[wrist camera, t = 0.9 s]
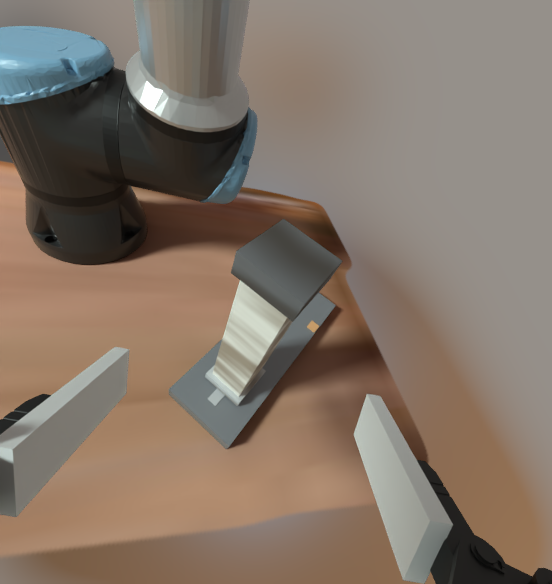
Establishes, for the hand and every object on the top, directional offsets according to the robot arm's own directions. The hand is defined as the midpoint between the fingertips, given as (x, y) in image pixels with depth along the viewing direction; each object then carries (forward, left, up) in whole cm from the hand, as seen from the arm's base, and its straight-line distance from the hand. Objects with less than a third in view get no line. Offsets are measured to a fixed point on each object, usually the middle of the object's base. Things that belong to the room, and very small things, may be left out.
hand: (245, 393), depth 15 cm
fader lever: (-6, +5, -18) cm, 19 cm away
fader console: (-10, +11, -20) cm, 24 cm away
